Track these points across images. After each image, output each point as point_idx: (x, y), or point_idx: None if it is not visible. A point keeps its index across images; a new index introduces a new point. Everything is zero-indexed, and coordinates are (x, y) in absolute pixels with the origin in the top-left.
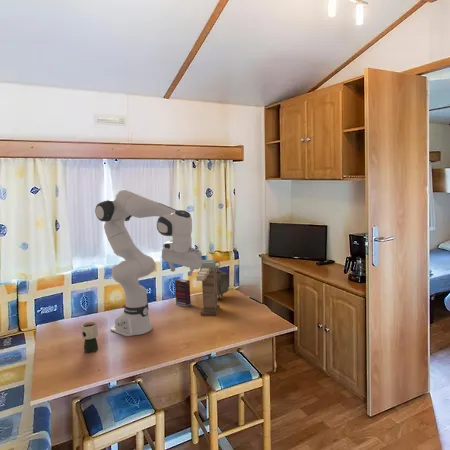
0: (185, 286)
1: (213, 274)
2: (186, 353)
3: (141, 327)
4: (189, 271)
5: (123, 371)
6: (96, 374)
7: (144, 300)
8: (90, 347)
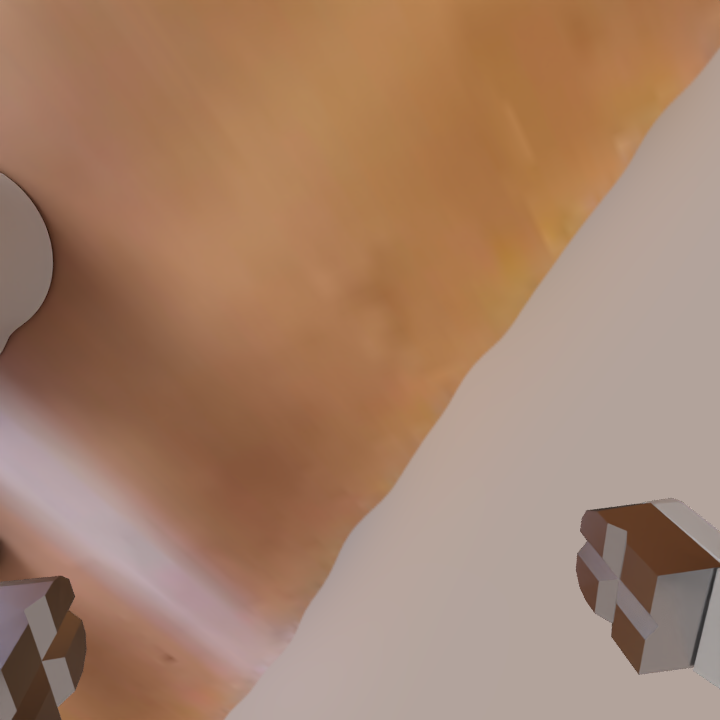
0: None
1: None
2: (436, 393)
3: (9, 296)
4: (664, 604)
5: (270, 630)
6: (188, 684)
7: None
8: None
